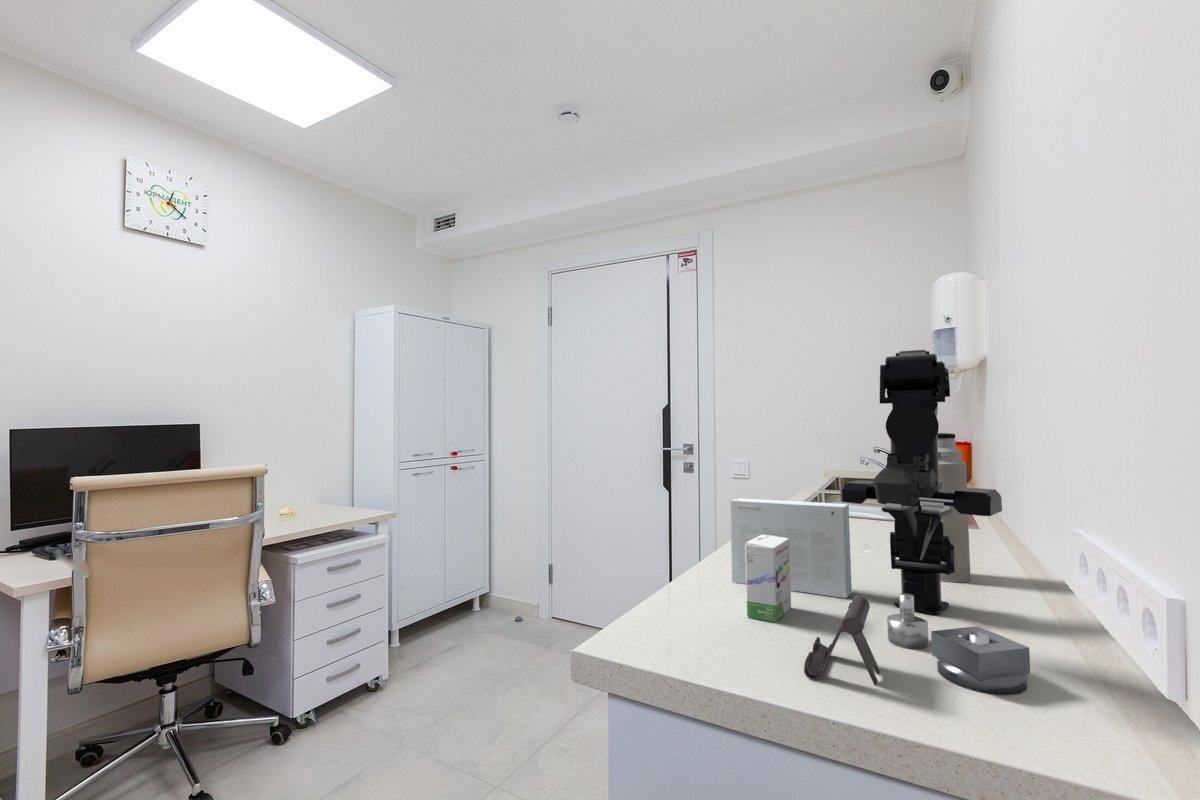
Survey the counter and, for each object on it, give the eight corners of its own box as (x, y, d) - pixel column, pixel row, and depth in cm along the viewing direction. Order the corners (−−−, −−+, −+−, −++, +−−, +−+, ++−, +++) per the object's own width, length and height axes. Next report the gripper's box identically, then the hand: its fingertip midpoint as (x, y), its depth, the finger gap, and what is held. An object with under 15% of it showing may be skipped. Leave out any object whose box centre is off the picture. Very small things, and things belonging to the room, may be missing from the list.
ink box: (776, 623, 87) (774, 546, 88) (745, 617, 90) (743, 543, 90) (792, 607, 94) (790, 536, 95) (763, 602, 97) (761, 533, 97)
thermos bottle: (954, 570, 114) (948, 432, 115) (980, 582, 106) (974, 433, 107) (914, 571, 114) (909, 432, 115) (937, 582, 106) (932, 434, 107)
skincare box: (853, 591, 103) (850, 503, 103) (847, 599, 98) (845, 507, 98) (739, 575, 114) (737, 496, 114) (730, 582, 109) (728, 500, 110)
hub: (951, 654, 75) (949, 616, 75) (1035, 677, 68) (1033, 635, 68) (926, 676, 69) (925, 634, 69) (1016, 703, 62) (1014, 657, 62)
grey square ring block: (978, 649, 73) (977, 626, 73) (1030, 673, 66) (1029, 647, 66) (932, 655, 71) (931, 631, 71) (979, 680, 64) (978, 653, 65)
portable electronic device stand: (816, 652, 77) (814, 590, 77) (881, 664, 73) (879, 598, 73) (804, 678, 69) (802, 609, 69) (875, 693, 65) (873, 620, 65)
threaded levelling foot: (896, 632, 83) (894, 587, 83) (934, 642, 79) (932, 595, 79) (882, 641, 79) (880, 595, 80) (920, 652, 76) (919, 603, 76)
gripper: (820, 446, 80) (824, 558, 79) (974, 450, 66) (979, 586, 65) (856, 443, 87) (859, 545, 86) (1000, 446, 73) (1005, 568, 73)
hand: (917, 559), depth 77 cm, fingers closed
